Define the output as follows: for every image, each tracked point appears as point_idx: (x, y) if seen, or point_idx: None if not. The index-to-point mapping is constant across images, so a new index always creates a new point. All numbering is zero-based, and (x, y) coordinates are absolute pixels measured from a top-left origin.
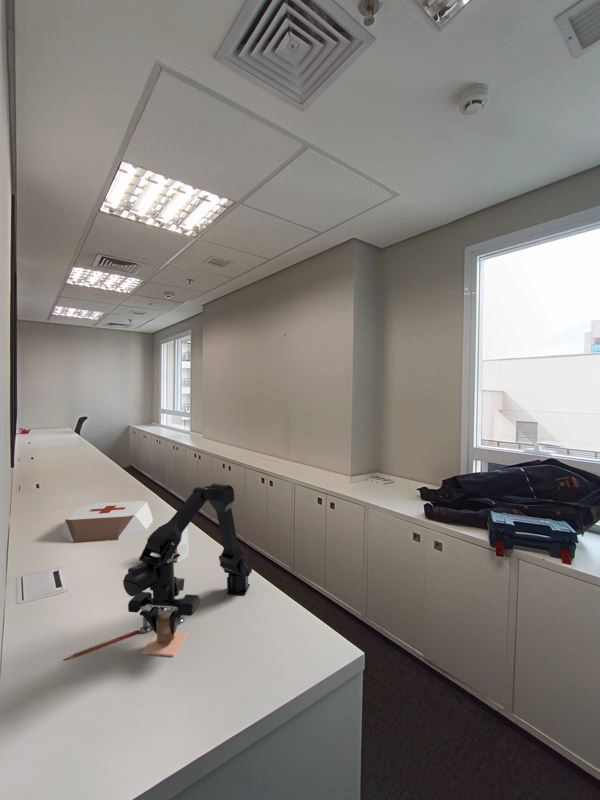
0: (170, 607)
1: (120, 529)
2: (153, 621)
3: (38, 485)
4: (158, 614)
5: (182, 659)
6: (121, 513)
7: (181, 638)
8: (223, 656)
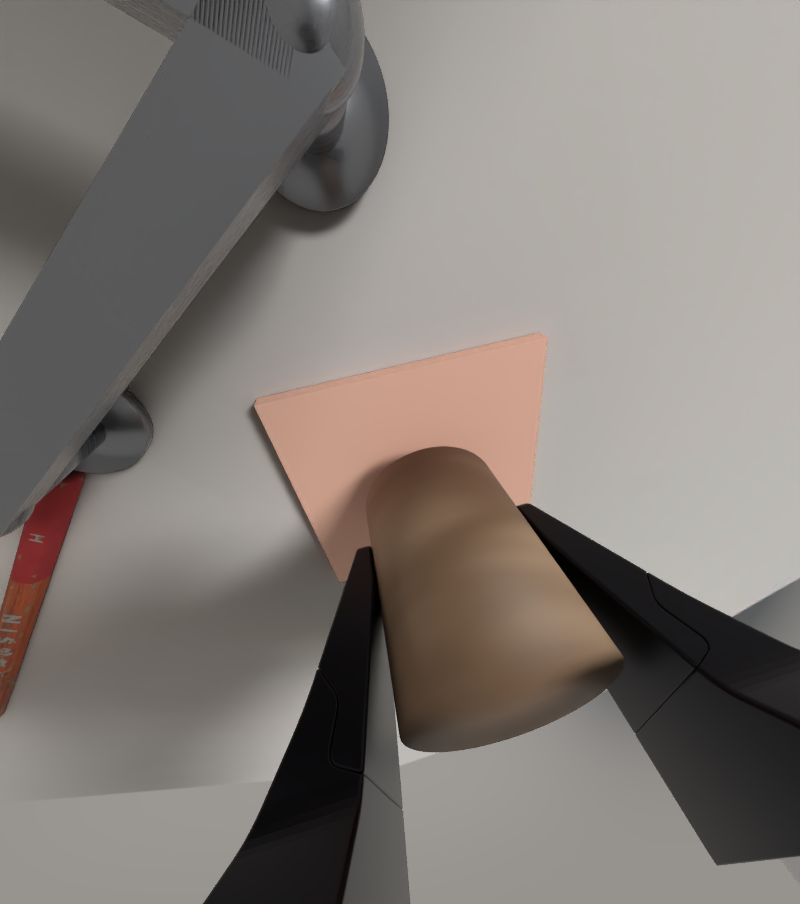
0: None
1: None
2: (393, 736)
3: None
4: (93, 405)
5: (575, 516)
6: None
7: (519, 415)
8: (783, 429)
